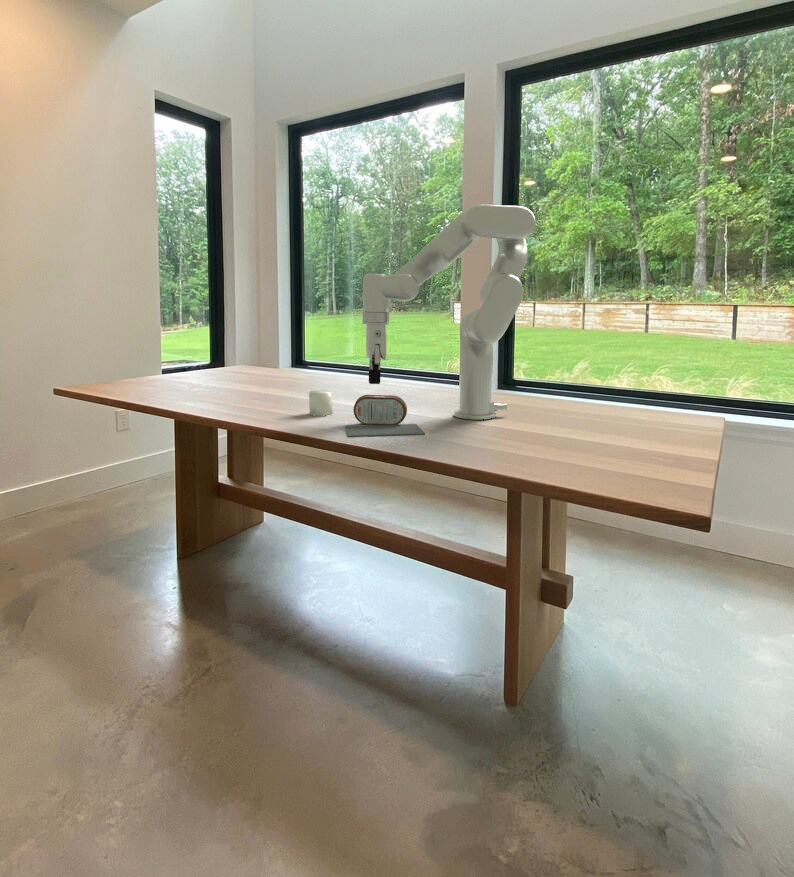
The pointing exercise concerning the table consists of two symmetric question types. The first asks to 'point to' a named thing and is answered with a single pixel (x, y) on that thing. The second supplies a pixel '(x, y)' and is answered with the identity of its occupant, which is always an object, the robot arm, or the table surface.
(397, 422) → the tin
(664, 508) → the table surface
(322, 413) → the white rounded cube
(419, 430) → the mat
